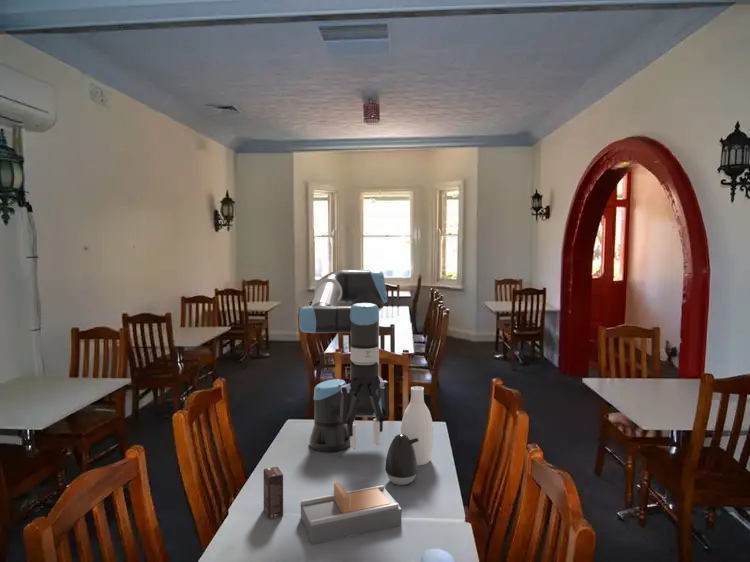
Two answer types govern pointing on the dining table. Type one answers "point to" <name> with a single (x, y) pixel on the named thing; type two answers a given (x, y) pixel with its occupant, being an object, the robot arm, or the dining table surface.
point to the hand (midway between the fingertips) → (364, 445)
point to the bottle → (418, 425)
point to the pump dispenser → (401, 460)
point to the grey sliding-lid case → (346, 517)
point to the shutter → (358, 499)
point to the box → (273, 492)
